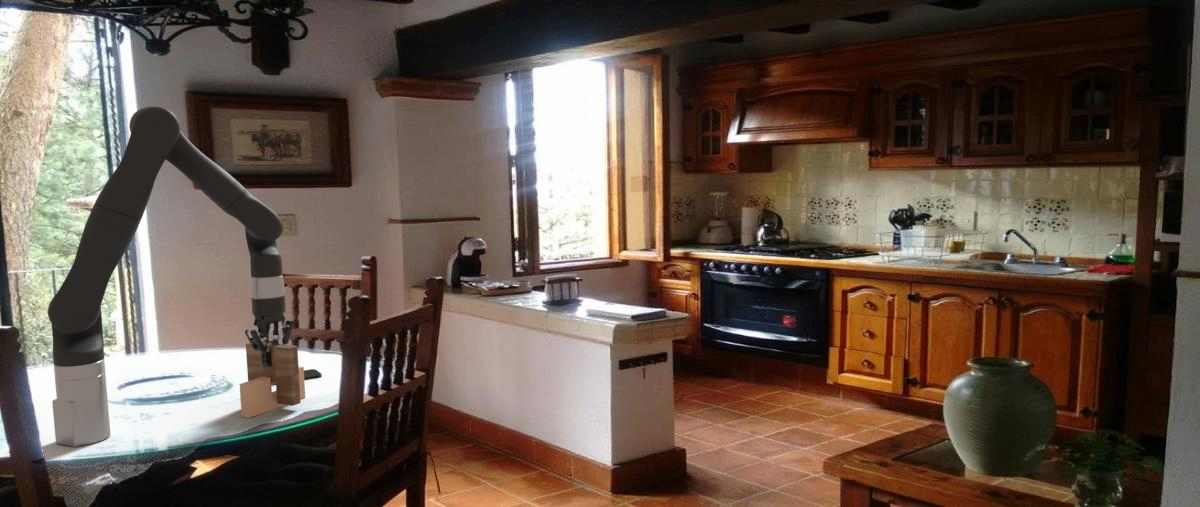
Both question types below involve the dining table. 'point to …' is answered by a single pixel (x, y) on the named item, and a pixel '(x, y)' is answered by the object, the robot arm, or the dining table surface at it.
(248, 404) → the horizontal wooden crosspiece
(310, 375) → the phone
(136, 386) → the dining table surface
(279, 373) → the upright wooden board
